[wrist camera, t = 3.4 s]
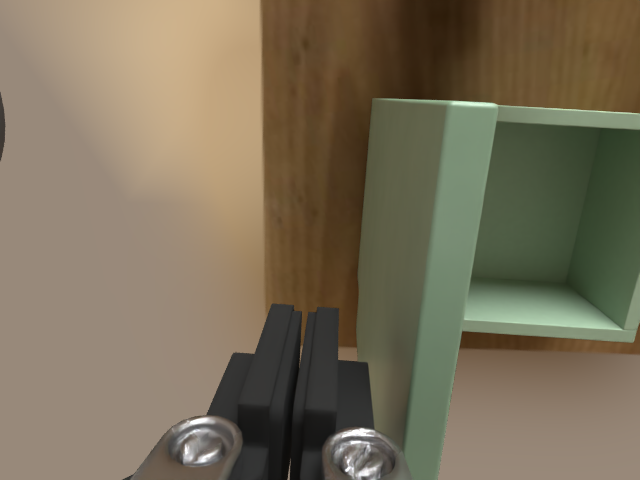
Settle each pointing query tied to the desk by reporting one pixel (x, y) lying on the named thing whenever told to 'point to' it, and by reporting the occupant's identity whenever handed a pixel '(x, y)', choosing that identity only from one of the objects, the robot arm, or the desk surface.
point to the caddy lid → (420, 263)
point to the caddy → (556, 226)
